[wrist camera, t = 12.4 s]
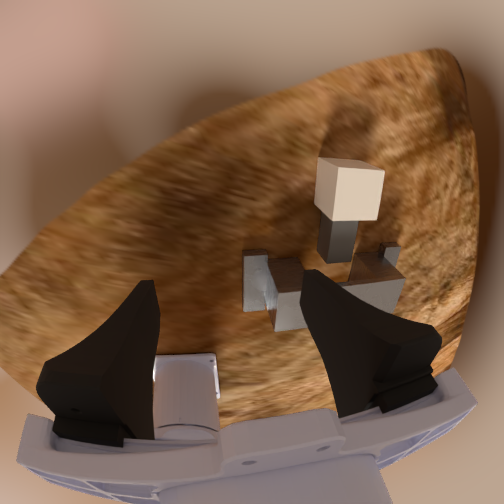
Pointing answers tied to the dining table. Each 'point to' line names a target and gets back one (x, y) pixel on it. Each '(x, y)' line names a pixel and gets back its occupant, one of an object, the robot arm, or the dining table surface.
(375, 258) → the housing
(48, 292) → the dining table surface
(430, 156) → the dining table surface
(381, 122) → the dining table surface
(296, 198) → the dining table surface
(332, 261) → the plug
